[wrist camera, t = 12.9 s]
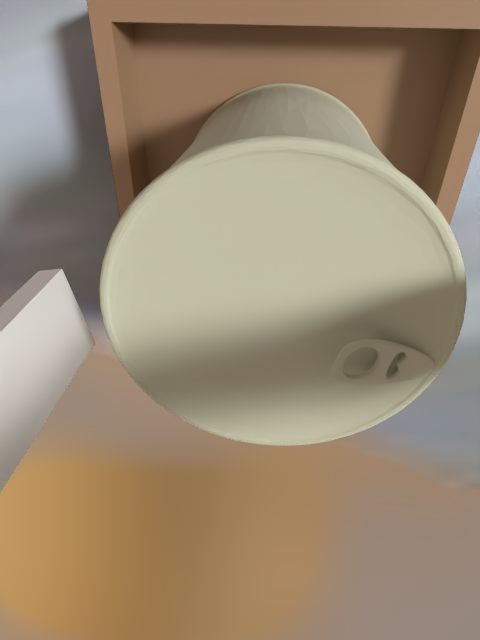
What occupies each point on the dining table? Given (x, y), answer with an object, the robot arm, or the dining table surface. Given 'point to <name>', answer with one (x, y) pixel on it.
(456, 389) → the dining table surface
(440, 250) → the can
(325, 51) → the brown square tray
